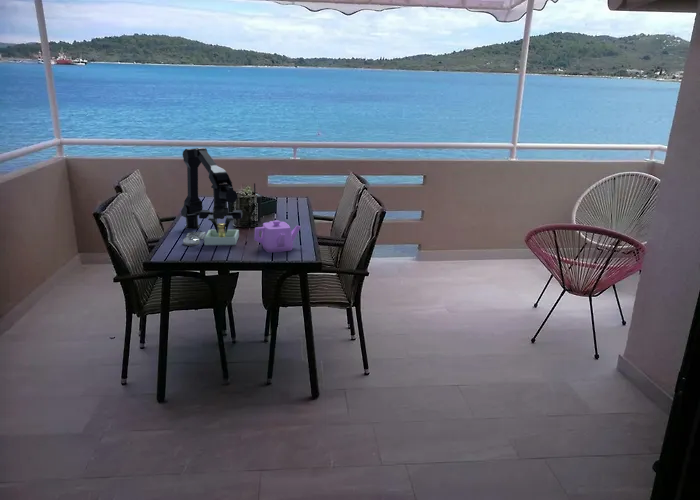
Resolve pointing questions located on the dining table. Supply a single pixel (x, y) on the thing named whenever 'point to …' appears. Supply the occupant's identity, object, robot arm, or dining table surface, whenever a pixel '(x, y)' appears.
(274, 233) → the teakettle
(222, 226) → the pin
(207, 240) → the parts tray
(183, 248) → the dining table surface
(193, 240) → the tensioner bracket
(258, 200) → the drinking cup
